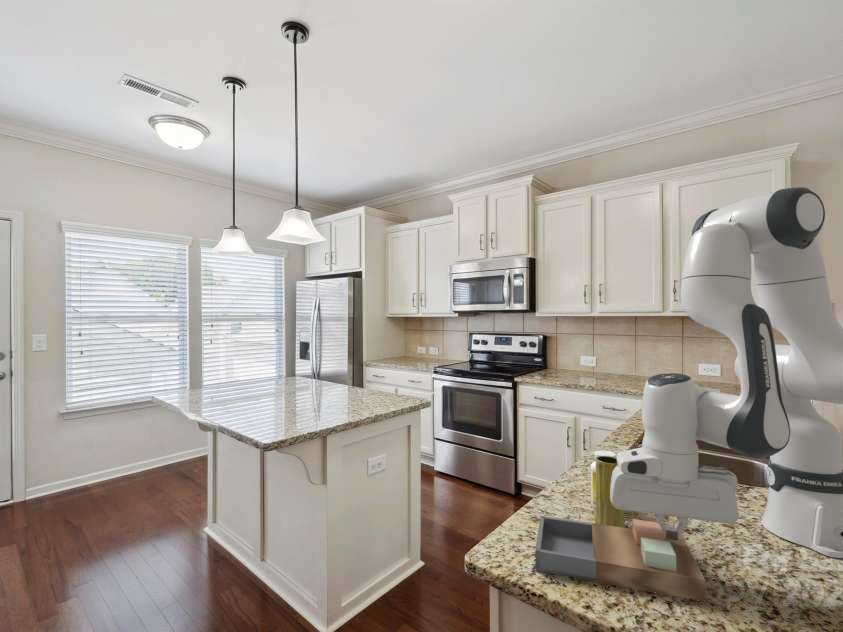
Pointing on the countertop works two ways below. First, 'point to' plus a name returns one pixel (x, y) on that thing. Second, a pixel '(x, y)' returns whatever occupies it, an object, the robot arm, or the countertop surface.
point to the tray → (565, 548)
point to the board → (627, 568)
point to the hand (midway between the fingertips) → (670, 538)
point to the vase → (606, 494)
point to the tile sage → (658, 554)
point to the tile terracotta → (647, 530)
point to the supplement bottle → (593, 474)
